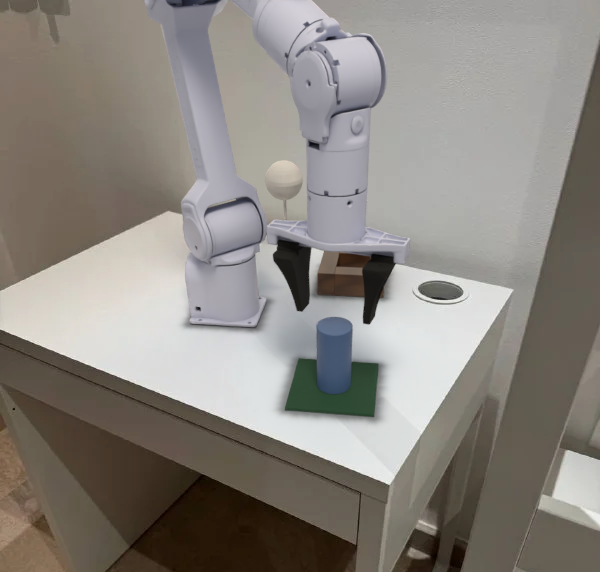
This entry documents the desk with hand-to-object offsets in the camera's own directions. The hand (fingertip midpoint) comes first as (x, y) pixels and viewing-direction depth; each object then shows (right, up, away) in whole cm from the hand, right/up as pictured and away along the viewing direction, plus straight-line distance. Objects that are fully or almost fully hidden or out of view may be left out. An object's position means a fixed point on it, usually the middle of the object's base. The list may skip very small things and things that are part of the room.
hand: (335, 313), depth 64 cm
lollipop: (-6, +15, +36) cm, 40 cm away
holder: (+4, +9, +27) cm, 29 cm away
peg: (0, -8, +6) cm, 9 cm away
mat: (0, -8, +6) cm, 10 cm away
